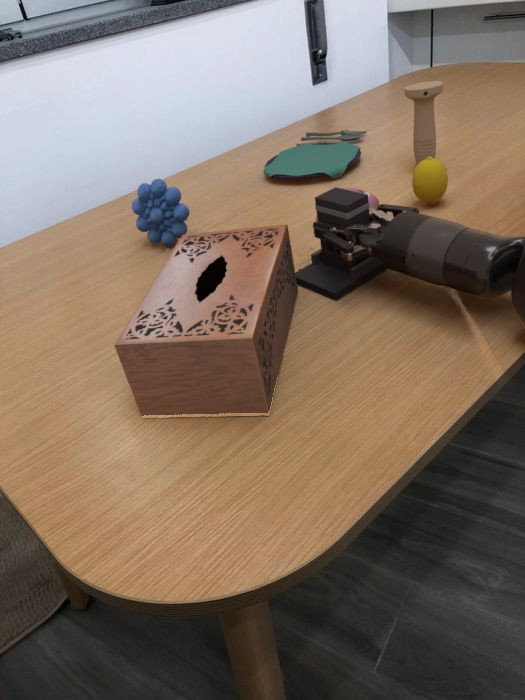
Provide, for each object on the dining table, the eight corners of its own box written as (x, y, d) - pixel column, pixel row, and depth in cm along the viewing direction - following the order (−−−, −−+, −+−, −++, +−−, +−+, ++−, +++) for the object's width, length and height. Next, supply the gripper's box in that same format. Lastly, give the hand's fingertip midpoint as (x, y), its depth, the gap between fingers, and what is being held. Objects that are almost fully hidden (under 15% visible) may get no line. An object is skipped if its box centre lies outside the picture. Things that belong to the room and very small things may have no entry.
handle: (406, 168, 115) (402, 85, 106) (440, 163, 114) (440, 79, 105) (409, 177, 111) (406, 91, 102) (445, 172, 110) (445, 85, 101)
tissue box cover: (199, 297, 87) (182, 234, 81) (298, 291, 83) (287, 224, 78) (142, 418, 66) (114, 345, 61) (269, 416, 63) (252, 338, 57)
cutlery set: (251, 187, 121) (248, 176, 119) (300, 138, 142) (298, 129, 141) (346, 185, 113) (345, 173, 111) (383, 134, 134) (382, 123, 133)
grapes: (210, 236, 104) (194, 169, 97) (189, 254, 99) (171, 185, 93) (157, 233, 109) (138, 169, 103) (135, 250, 105) (114, 184, 98)
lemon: (415, 198, 102) (414, 152, 98) (449, 197, 100) (449, 149, 96) (410, 212, 98) (409, 164, 94) (446, 211, 96) (446, 162, 92)
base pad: (359, 243, 92) (358, 227, 90) (405, 258, 86) (405, 241, 84) (291, 282, 86) (288, 265, 84) (336, 300, 79) (333, 283, 78)
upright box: (342, 252, 88) (335, 186, 82) (373, 262, 84) (368, 194, 78) (322, 263, 86) (313, 197, 81) (353, 274, 82) (346, 205, 76)
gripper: (467, 198, 73) (363, 176, 85) (387, 244, 66) (287, 214, 78) (465, 253, 77) (367, 225, 89) (390, 302, 71) (295, 265, 82)
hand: (330, 220), depth 83 cm, fingers open, 5 cm apart
